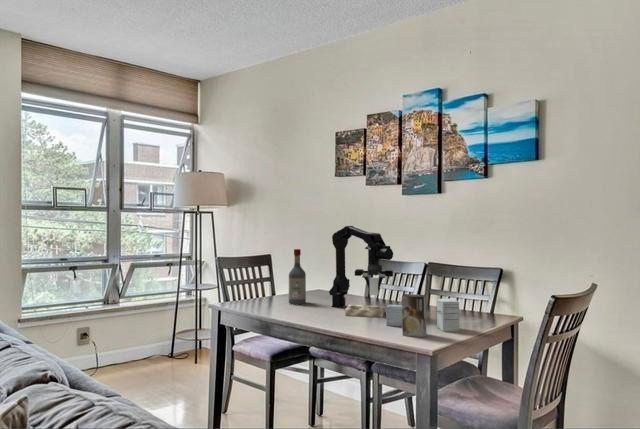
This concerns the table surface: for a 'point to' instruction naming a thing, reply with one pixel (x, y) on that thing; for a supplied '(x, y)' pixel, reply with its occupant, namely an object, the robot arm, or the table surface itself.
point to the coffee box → (414, 315)
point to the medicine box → (394, 315)
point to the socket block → (364, 310)
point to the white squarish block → (373, 286)
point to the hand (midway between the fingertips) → (374, 290)
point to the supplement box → (448, 315)
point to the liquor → (297, 281)
